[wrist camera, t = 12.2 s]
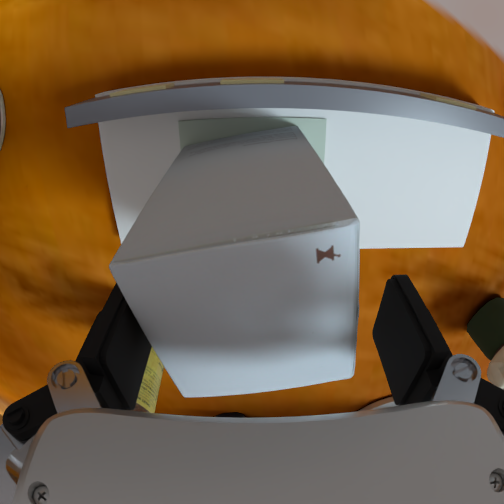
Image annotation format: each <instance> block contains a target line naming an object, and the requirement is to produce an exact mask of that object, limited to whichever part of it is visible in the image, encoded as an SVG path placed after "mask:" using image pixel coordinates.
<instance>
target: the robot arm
mask: <svg viewBox="0 0 504 504" xmlns="http://www.w3.org/2000/svg"><path fill="white" fill-rule="evenodd" d="M373 339H374V342H375V345H376V348H377V351H378V354H379V356H380V359H381V362H382V365H383V368H384V371H385V374H386V378H387V381H388V384H389V387H390V390H391V393H392V397H388V398H385V399H382V400H379V401H377V402H374V403H372V404H370V405H368V406H366V407H364V408H362V409H361V410H359V411H356V412H348V413H338V414H326V415H313V416H296V417H268V418H230V417H201V416H184V415H171V414H159V413H148V412H138V411H130V410H134V408H135V405H136V402H137V398H138V394H139V390H140V387H141V383H142V379H143V376H144V372H145V369H146V365H147V362H148V358H149V355H150V352H151V348H152V346H151V344H150V342H149V341H148V339H147V337H146V335H145V334H144V332H143V330H142V328H141V327H140V325H139V323H138V321H137V319H136V318H135V316H134V314H133V312H132V310H131V309H130V307H129V305H128V303H127V301H126V299H125V298H124V296H123V294H122V292H121V290H120V288H119V286H118V284H117V283H116V285H115V287H114V289H113V290H112V292H111V294H110V296H109V298H108V300H107V302H106V304H105V306H104V308H103V310H102V311H100V312H99V314H98V315H97V317H96V319H95V321H94V323H93V325H92V327H91V329H90V331H89V333H88V335H87V338H86V340H85V342H84V344H83V346H82V348H81V350H80V352H79V354H78V357H77V359H76V361H71V360H69V361H63V362H60V363H58V364H57V365H55V366H54V367H53V368H52V369H51V370H50V372H49V374H48V378H47V383H48V385H46V386H44V387H42V388H40V389H39V390H37V391H35V392H33V393H31V394H29V395H27V396H26V397H24V398H22V399H20V400H18V401H16V402H14V403H12V404H11V405H10V406H8V408H7V409H6V410H5V412H4V414H3V424H2V425H1V426H0V504H504V390H503V389H501V388H499V387H497V386H495V385H493V384H492V383H490V382H488V381H486V380H484V379H482V378H481V370H480V367H479V365H478V363H477V362H476V361H475V360H474V359H473V358H471V357H469V356H467V355H463V354H457V355H454V356H453V355H452V353H451V351H450V349H449V347H448V345H447V343H446V341H445V340H444V338H443V336H442V334H441V332H440V330H439V328H438V326H437V325H436V323H435V321H434V319H433V317H432V316H431V314H430V312H429V310H428V309H427V308H426V306H425V304H424V302H423V301H422V299H421V297H420V295H419V294H418V292H417V290H416V289H415V287H414V285H413V283H412V282H411V280H410V279H409V277H408V276H407V275H393V276H392V277H391V279H388V280H387V282H386V286H385V290H384V293H383V297H382V301H381V304H380V308H379V311H378V314H377V318H376V321H375V324H374V327H373Z"/></svg>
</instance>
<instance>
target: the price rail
mask: <svg viewBox="0 0 504 504" xmlns="http://www.w3.org/2000/svg"><path fill="white" fill-rule="evenodd" d="M239 108H296V109H321V110H337V111H350V112H362V113H372V114H381V115H389V116H397V117H404V118H411V119H418V120H424V121H430V122H436V123H441V124H447V125H452V126H457V127H462V128H466V129H471V130H475V131H480V132H484V133H488V134H492V135H496V136H500V137H504V117H503V116H500V115H498V114H495V113H492V112H489V111H485V110H482V109H478V108H476V107H475V106H472V105H469V104H466V103H463V102H460V101H456V100H452V99H448V98H443V97H439V96H434V95H429V94H424V93H420V95H417V94H412V93H406V92H400V91H394V90H387V89H380V88H373V87H364V86H356V85H346V84H334V83H321V82H302V81H284V79H281V78H238V79H222V80H220V82H208V83H195V84H183V85H174V83H168V84H160V85H152V86H145V87H138V88H131V89H125V90H121V91H117V92H113V93H110V95H105V96H100V97H95V98H92V99H89V100H86V101H83V102H80V103H77V104H74V105H71V106H68V107H65V114H66V121H67V128H71V127H76V126H81V125H87V124H92V123H98V122H104V121H110V120H116V119H123V118H130V117H137V116H145V115H154V114H163V113H173V112H184V111H198V110H214V109H239Z"/></svg>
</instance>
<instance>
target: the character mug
mask: <svg viewBox="0 0 504 504" xmlns="http://www.w3.org/2000/svg"><path fill="white" fill-rule="evenodd" d="M467 332H468V333H469V335H470V336H471V338H472V339H473V340H474V342H475V343H476V344H477V346H478V347H479V348H480V349H481V351H482V352H483V353H484V354H485V356H486V357H487V358H488V359H489V360H491V362H490V363H489V366H488V370H487V377H488V379H489V381H490V382H491V383H492V384H493V385H495V386H497V387H499V388H501V389H503V390H504V298H499V297H497V298H495V299H493V300H491V301H489V302H488V303H487V304H485V305H484V306H483V307H482V308H481V309H480V310H479V311H478V312H477V313H476V314H475V315H474V316H473V318H472V319H471V320H470V322H469V323H468V324H467Z"/></svg>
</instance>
